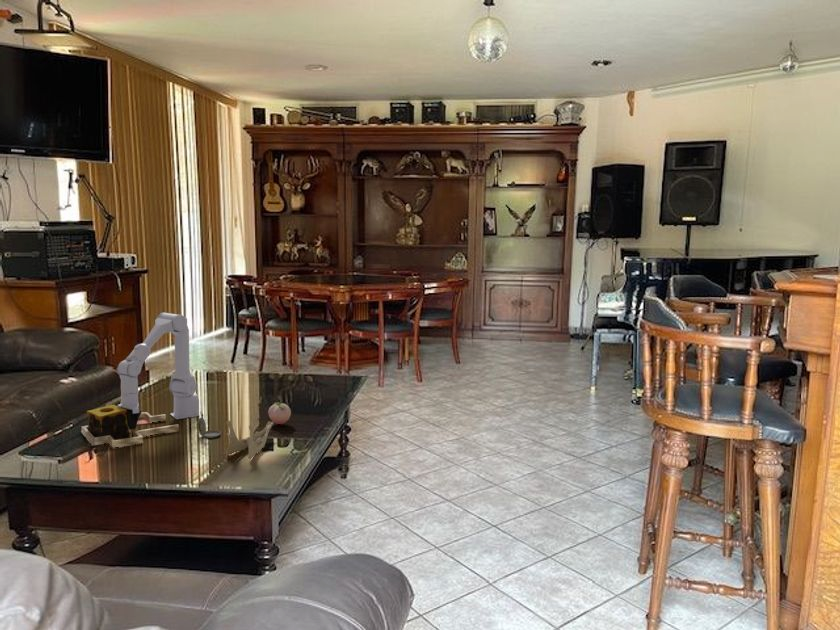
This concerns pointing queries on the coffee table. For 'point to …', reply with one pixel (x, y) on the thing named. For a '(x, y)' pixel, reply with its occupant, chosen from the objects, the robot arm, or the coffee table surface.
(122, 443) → the trap channel
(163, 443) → the coffee table surface
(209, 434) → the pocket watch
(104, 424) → the candle
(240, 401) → the coffee table surface
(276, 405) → the decorative fruit
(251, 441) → the jawbone
